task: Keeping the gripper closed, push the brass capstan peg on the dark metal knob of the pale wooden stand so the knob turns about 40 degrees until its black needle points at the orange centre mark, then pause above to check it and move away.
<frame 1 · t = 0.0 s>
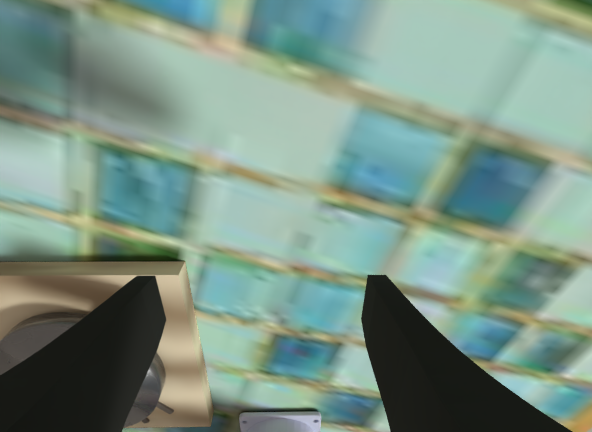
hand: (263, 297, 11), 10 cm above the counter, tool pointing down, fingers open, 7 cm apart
capstan knob: (68, 402, 22), point 5 cm above the counter, hinge at -40.0°
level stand: (99, 348, 27), on the counter
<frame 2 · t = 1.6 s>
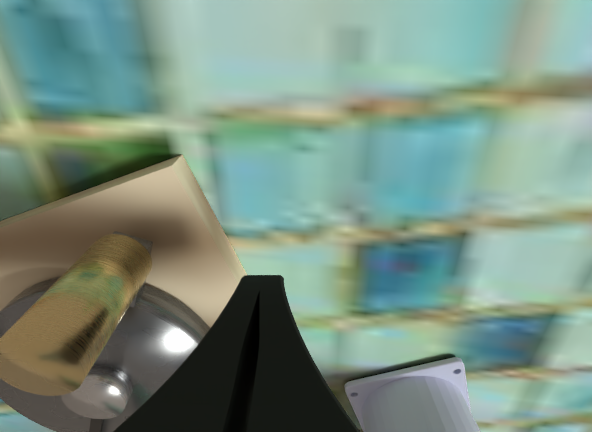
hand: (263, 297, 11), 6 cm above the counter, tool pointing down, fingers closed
capstan knob: (86, 404, 15), point 5 cm above the counter, hinge at -40.0°
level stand: (131, 332, 20), on the counter
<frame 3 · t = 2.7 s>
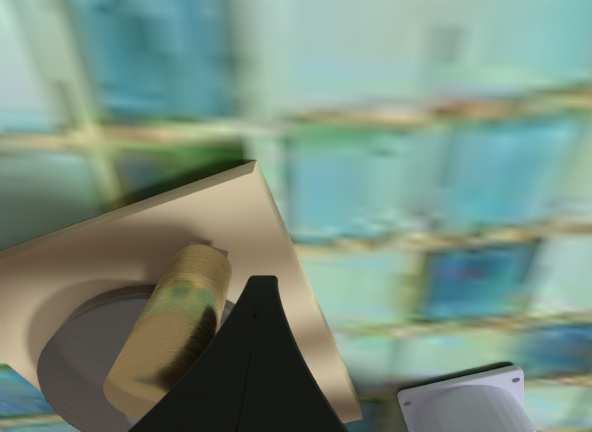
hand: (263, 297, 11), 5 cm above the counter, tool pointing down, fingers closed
capstan knob: (155, 420, 14), point 5 cm above the counter, hinge at -39.8°, touching gripper
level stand: (183, 342, 19), on the counter
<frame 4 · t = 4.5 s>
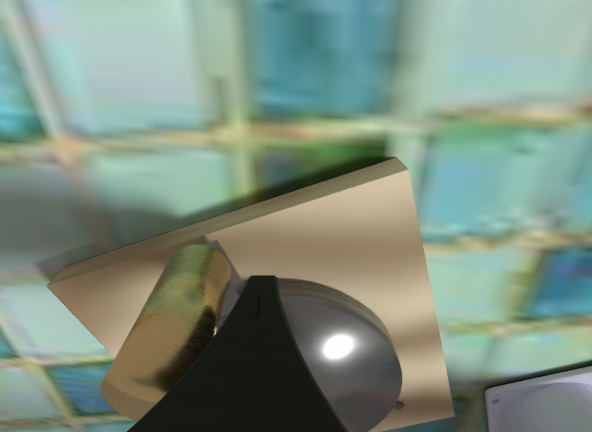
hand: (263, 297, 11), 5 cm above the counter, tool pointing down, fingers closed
capstan knob: (273, 417, 14), point 5 cm above the counter, hinge at 2.1°, touching gripper
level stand: (284, 339, 19), on the counter
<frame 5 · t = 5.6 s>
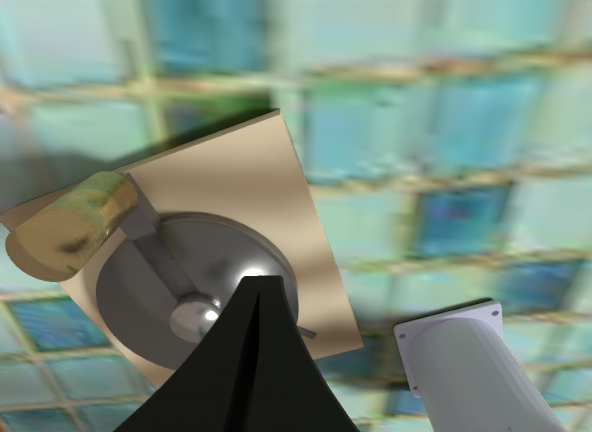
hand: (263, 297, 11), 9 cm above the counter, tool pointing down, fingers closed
capstan knob: (182, 322, 17), point 5 cm above the counter, hinge at 2.2°
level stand: (211, 276, 22), on the counter
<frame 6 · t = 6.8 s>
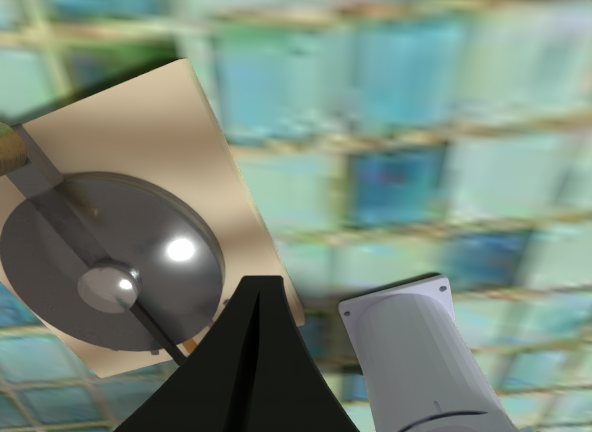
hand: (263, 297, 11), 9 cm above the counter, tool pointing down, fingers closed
capstan knob: (85, 287, 16), point 5 cm above the counter, hinge at 2.2°
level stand: (139, 248, 21), on the counter
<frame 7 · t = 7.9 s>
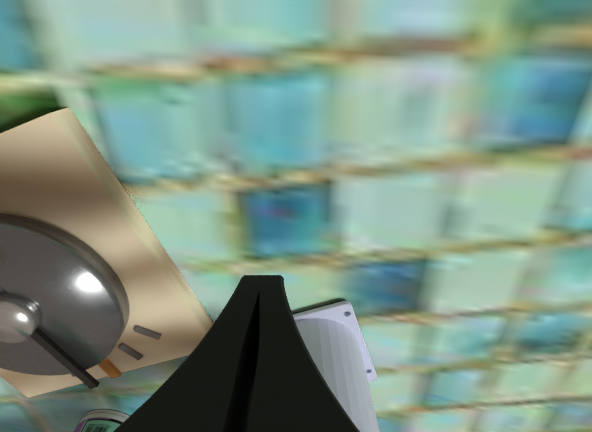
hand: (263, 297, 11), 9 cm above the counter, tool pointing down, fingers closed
spray can: (111, 423, 31), on the counter
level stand: (51, 276, 22), on the counter
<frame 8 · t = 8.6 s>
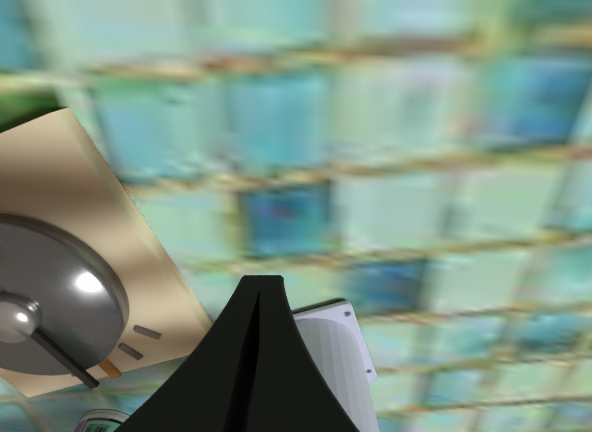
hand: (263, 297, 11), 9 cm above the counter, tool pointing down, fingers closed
spray can: (111, 423, 31), on the counter
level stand: (51, 276, 22), on the counter
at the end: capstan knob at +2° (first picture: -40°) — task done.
